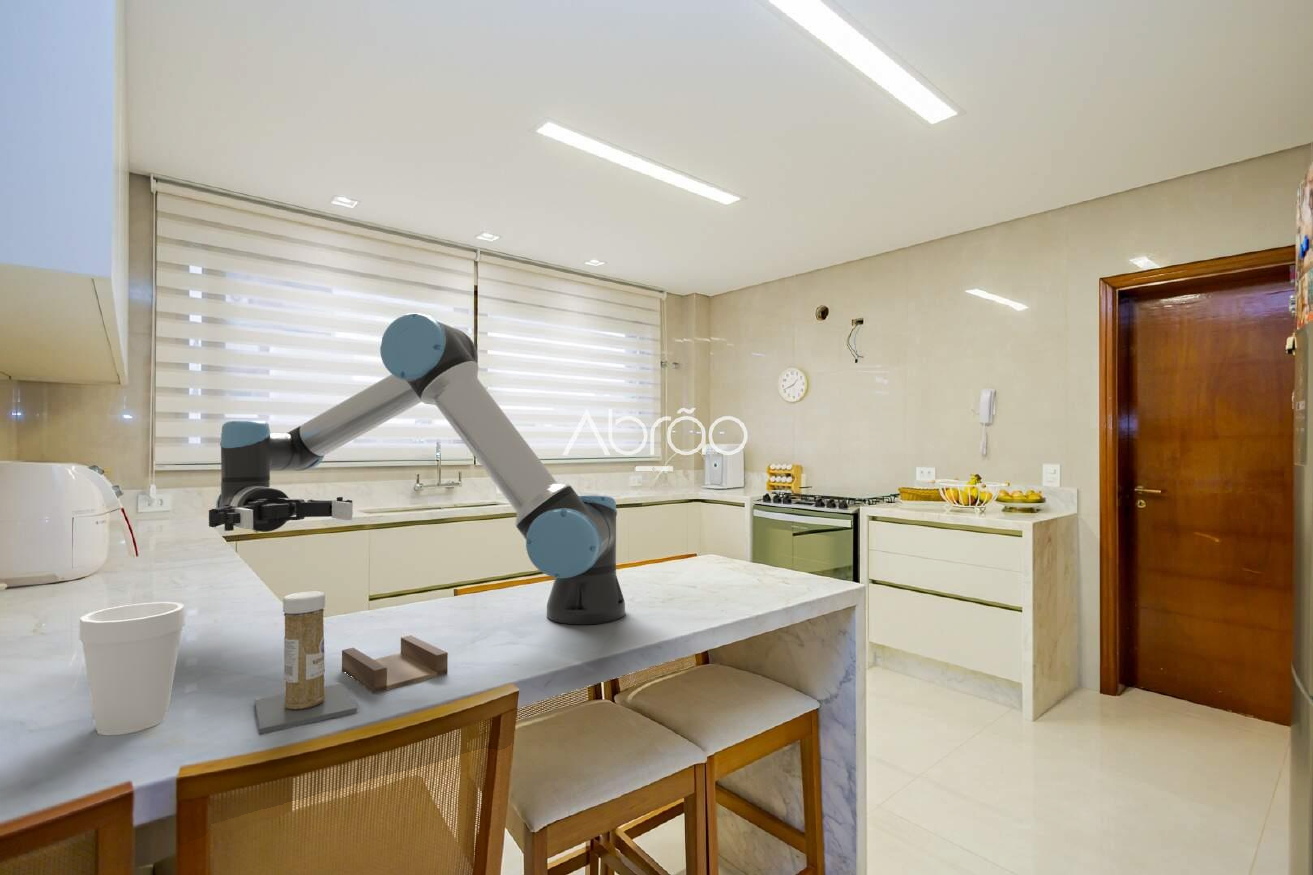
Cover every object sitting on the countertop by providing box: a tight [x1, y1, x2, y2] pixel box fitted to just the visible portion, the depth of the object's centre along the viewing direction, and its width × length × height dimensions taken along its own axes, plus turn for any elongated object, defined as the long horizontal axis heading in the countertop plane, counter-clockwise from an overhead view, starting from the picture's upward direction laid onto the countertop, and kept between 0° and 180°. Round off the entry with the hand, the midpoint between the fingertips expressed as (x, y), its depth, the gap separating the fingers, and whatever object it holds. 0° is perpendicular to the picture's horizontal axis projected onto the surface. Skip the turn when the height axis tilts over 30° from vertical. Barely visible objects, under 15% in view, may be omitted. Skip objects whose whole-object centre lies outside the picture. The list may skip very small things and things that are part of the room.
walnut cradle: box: [341, 635, 449, 694], centre depth 90 cm, size 10×12×3 cm
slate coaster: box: [254, 682, 358, 735], centre depth 78 cm, size 10×10×1 cm
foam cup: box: [78, 601, 186, 736], centre depth 74 cm, size 10×9×13 cm
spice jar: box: [282, 590, 326, 710], centre depth 78 cm, size 5×5×14 cm
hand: (302, 515), depth 94 cm, fingers open, 13 cm apart
